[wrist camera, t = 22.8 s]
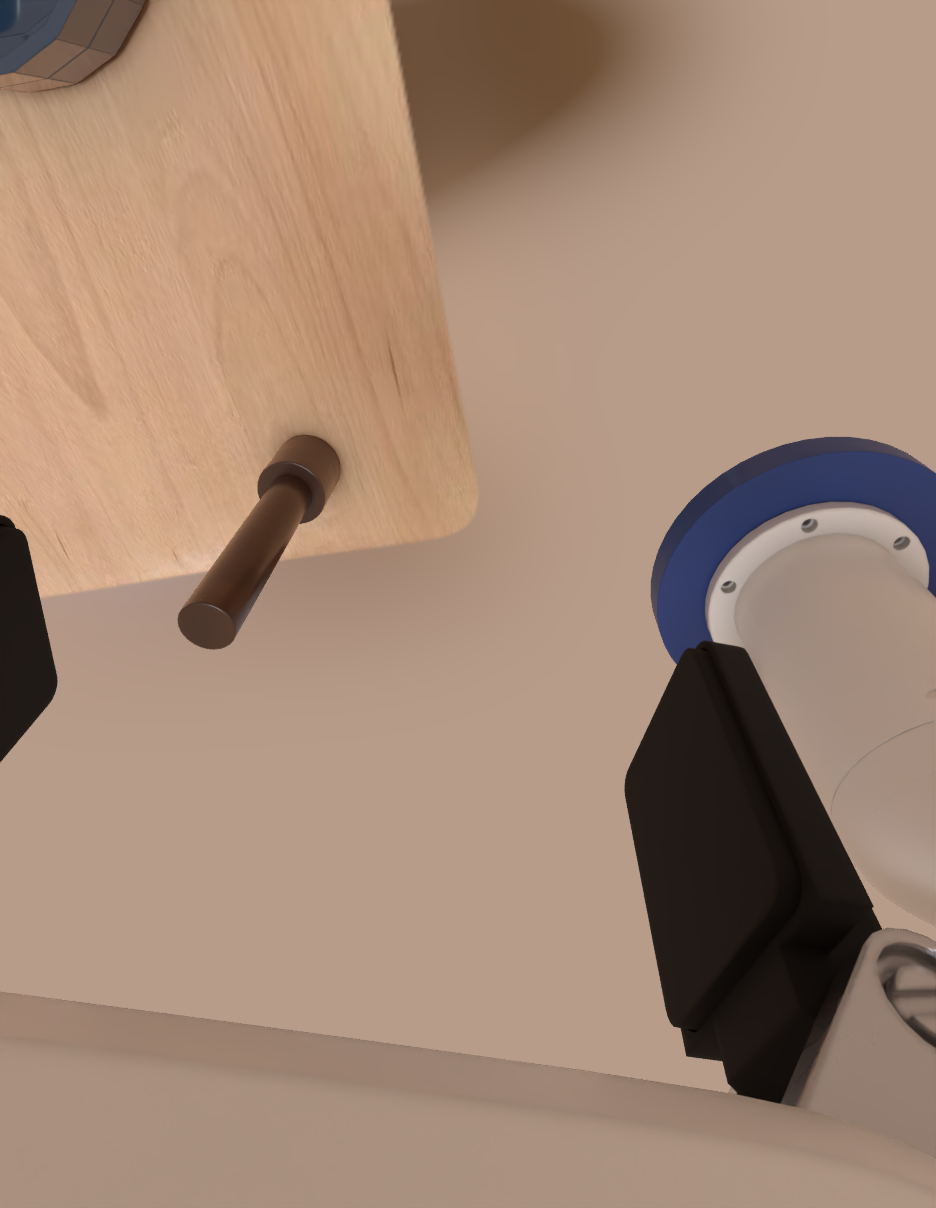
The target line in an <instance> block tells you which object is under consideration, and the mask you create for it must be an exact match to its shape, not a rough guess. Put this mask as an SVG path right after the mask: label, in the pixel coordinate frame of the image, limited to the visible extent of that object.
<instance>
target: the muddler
mask: <svg viewBox="0 0 936 1208" xmlns="http://www.w3.org/2000/svg"><path fill="white" fill-rule="evenodd" d="M339 476H340V463H339V460H338V457H337V455H336V453H335V452H334V450H333V449H332V448H331V447H330V446H329V445H328V444H327V443H326V442H324V441H323V440H321V439H319V438H316V437H313V436H307V435H302V436H296V437H293V438H291V439H289V440H288V441H287V442H286V443H285V444H284V445H283V446H282V447H281V448H280V450H279V451H278V452H277V454H276V455H275V456H274V458H273V459H272V460H271V461H270V463H269V464H268V465H267V467H266V468H265V469H264V470H263V472H262V473H261V475H260V477H259V480H258V495H259V498H260V500H259V502H258V503H257V505H256V506H255V507H254V509H253V510H252V512H251V513H250V514H249V516H248V517H247V519H246V520H245V521H244V523H243V524H242V525H241V527H240V528H239V530H238V531H237V532H236V534H235V535H234V537H233V538H232V539H231V541H230V542H229V544H228V545H227V546H226V548H225V549H224V551H223V552H222V553H221V555H220V556H219V558H218V559H217V560H216V562H215V563H214V565H213V566H212V567H211V569H210V570H209V571H208V573H207V574H206V576H205V577H204V578H203V580H202V581H201V583H200V584H199V585H198V587H197V588H196V590H195V591H194V592H193V594H192V595H191V597H190V598H189V599H188V601H187V602H186V604H185V605H184V606H183V608H182V609H181V611H180V612H179V615H178V626H179V628H180V630H181V632H182V634H183V635H184V636H185V637H186V638H187V639H188V640H189V641H191V642H192V643H193V644H195V645H197V646H199V647H203V648H206V649H221V648H224V647H226V646H228V645H230V644H231V643H232V642H233V640H234V639H235V637H236V635H237V633H238V632H239V630H240V628H241V626H242V624H243V623H244V621H245V619H246V617H247V616H248V614H249V612H250V610H251V609H252V607H253V605H254V603H255V601H256V600H257V598H258V596H259V594H260V593H261V591H262V589H263V587H264V585H265V584H266V582H267V580H268V578H269V577H270V575H271V573H272V571H273V569H274V568H275V566H276V564H277V562H278V561H279V559H280V557H281V555H282V553H283V552H284V550H285V548H286V546H287V545H288V543H289V541H290V539H291V537H292V536H293V534H294V532H295V530H296V529H297V527H298V525H299V524H302V523H307V522H310V521H312V520H313V519H315V518H316V517H317V516H318V515H319V514H320V513H321V512H322V510H323V508H324V506H325V504H326V502H327V500H328V498H329V496H330V494H331V493H332V491H333V489H334V487H335V485H336V483H337V481H338V479H339Z"/></svg>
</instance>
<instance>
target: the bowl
mask: <svg viewBox="0 0 936 1208" xmlns="http://www.w3.org/2000/svg"><path fill="white" fill-rule="evenodd" d="M143 4H144V0H0V89H7V90H14V91H21V92H36V91H41V90H46V89H52V88H57V87H62V86H68V85H73V84H75V83H78V82H80V81H81V80H82V79H84V78H85V77H86V76H88V75H89V74H90V73H92V72H93V71H94V70H96V69H97V68H98V67H100V66H101V65H102V64H104V63H105V62H106V61H108V60H109V59H110V58H112V57H113V56H114V55H115V54H116V53H117V52H118V50H119V48H120V46H121V44H122V43H123V41H124V39H125V37H126V36H127V34H128V32H129V30H130V28H131V27H132V25H133V23H134V21H135V20H136V18H137V16H138V14H139V12H140V11H141V9H142V7H143V6H142V5H143Z"/></svg>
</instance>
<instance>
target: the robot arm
mask: <svg viewBox="0 0 936 1208" xmlns="http://www.w3.org/2000/svg"><path fill="white" fill-rule="evenodd" d="M928 584H929V564H928V560H927V556H926V552H925V549H924V548H923V546H922V544H921V542H920V541H919V539H918V537H917V536H916V535H915V534H914V533H913V532H912V531H911V530H910V529H909V528H908V527H907V526H906V525H905V524H904V523H903V522H901V521H900V520H899V519H897V518H896V517H894V516H893V515H892V514H890V513H888V512H886V511H884V510H881V509H879V508H877V507H874V506H871V505H866V504H861V503H856V502H825V503H818V504H812V505H807V506H803V507H800V508H797V509H794V510H791V511H787V512H785V513H783V514H781V515H779V516H777V517H775V518H772V519H770V520H768V521H766V522H764V523H763V524H762V525H760V526H759V527H757V528H756V529H754V530H753V531H751V532H750V533H748V534H747V535H746V536H745V537H744V538H742V539H741V540H740V541H739V542H738V543H737V544H736V545H735V546H734V547H733V548H732V549H731V550H730V551H729V552H728V554H727V555H726V556H725V557H724V559H723V560H722V561H721V563H720V564H719V565H718V567H717V569H716V571H715V573H714V575H713V577H712V579H711V581H710V584H709V587H708V591H707V594H706V599H705V617H706V622H707V628H708V630H709V632H710V635H711V637H712V640H713V642H711V641H706V640H705V641H702V642H700V643H699V644H698V645H697V647H696V648H695V649H694V648H687V649H686V650H685V651H684V652H683V654H682V655H681V657H680V660H679V662H678V664H677V666H676V668H675V670H674V673H673V675H672V677H671V679H670V681H669V683H668V685H667V687H666V690H665V692H664V694H663V696H662V698H661V700H660V703H659V705H658V707H657V709H656V711H655V713H654V715H653V717H652V720H651V722H650V724H649V726H648V728H647V730H646V732H645V734H644V737H643V739H642V741H641V743H640V745H639V747H638V749H637V752H636V754H635V756H634V758H633V760H632V762H631V764H630V767H629V769H628V771H627V774H626V779H625V798H626V803H627V808H628V813H629V819H630V824H631V829H632V835H633V840H634V845H635V850H636V856H637V861H638V866H639V871H640V876H641V882H642V887H643V892H644V898H645V903H646V908H647V913H648V918H649V923H650V929H651V934H652V939H653V945H654V950H655V955H656V960H657V966H658V971H659V976H660V981H661V987H662V992H663V996H664V1002H665V1007H666V1012H667V1016H668V1018H669V1020H670V1023H671V1024H672V1025H673V1026H674V1027H678V1028H681V1032H682V1036H683V1042H684V1047H685V1052H686V1056H688V1057H695V1058H703V1059H710V1060H718V1061H723V1065H724V1069H725V1074H726V1077H727V1082H728V1084H729V1085H730V1086H731V1088H730V1090H729V1092H728V1093H724V1092H718V1091H711V1090H705V1089H699V1088H692V1087H686V1086H680V1085H674V1084H667V1083H660V1082H654V1081H647V1080H642V1079H635V1078H628V1077H622V1076H616V1075H610V1074H604V1073H597V1072H591V1071H584V1070H577V1069H570V1068H562V1067H555V1066H548V1065H541V1064H534V1063H526V1062H519V1061H511V1060H505V1059H497V1058H490V1057H483V1056H475V1055H469V1054H461V1053H454V1052H447V1051H439V1050H432V1049H425V1048H418V1047H411V1046H403V1045H396V1044H389V1043H382V1042H374V1041H367V1040H360V1039H353V1038H346V1037H338V1036H330V1035H323V1034H316V1033H308V1032H300V1031H293V1030H285V1029H278V1028H271V1027H263V1026H255V1025H248V1024H241V1023H233V1022H226V1021H218V1020H210V1019H203V1018H196V1017H188V1016H180V1015H173V1014H166V1013H158V1012H151V1011H143V1010H135V1009H128V1008H119V1007H113V1006H105V1005H97V1004H90V1003H83V1002H75V1001H67V1000H59V999H52V998H45V997H37V996H29V995H21V994H13V993H6V992H0V1208H936V942H935V941H934V940H932V939H930V938H928V937H926V936H924V935H921V934H918V933H915V932H912V931H909V930H906V929H894V928H885V929H883V930H882V928H881V926H880V924H879V922H878V920H877V918H876V916H875V914H874V912H873V910H872V907H873V904H872V902H871V900H870V898H869V896H868V894H867V892H866V890H865V888H864V886H863V884H862V882H861V880H860V878H859V876H858V874H857V872H856V870H855V868H854V866H853V864H852V862H851V860H852V861H853V863H854V865H855V866H856V867H857V868H858V870H859V871H860V872H861V873H862V875H863V876H864V877H865V879H866V880H867V881H868V882H869V883H871V885H872V886H874V887H875V888H876V889H877V890H878V891H879V892H880V893H881V894H882V895H883V896H885V897H886V898H887V899H889V900H890V901H892V902H893V903H895V904H896V905H898V906H899V907H901V908H902V909H904V910H905V911H907V912H909V913H911V914H912V915H914V916H916V917H918V918H920V919H921V920H923V921H925V922H927V923H929V924H931V925H933V926H936V598H935V597H934V596H933V594H932V593H931V592H930V591H929V590H928V589H927V588H928ZM56 688H57V674H56V669H55V665H54V660H53V656H52V651H51V647H50V642H49V637H48V633H47V628H46V624H45V619H44V615H43V611H42V606H41V601H40V596H39V592H38V587H37V583H36V578H35V574H34V569H33V565H32V560H31V556H30V551H29V546H28V542H27V539H26V536H25V534H24V533H23V532H22V531H21V530H19V529H16V528H15V525H14V523H13V522H12V521H11V520H10V519H9V518H7V517H5V516H2V515H0V762H1V761H2V760H3V758H4V757H5V756H6V755H7V754H8V752H9V751H10V750H11V749H12V748H13V746H14V745H15V744H16V743H17V742H18V740H19V739H20V738H21V737H22V736H23V735H24V733H25V732H26V731H27V730H28V729H29V727H30V726H31V725H32V724H33V722H34V721H35V720H36V719H37V718H38V717H39V715H40V714H41V713H42V712H43V711H44V709H45V708H46V707H47V706H48V704H49V703H50V702H51V700H52V699H53V697H54V694H55V692H56ZM834 827H835V828H834ZM835 829H836V830H835ZM836 831H837V832H836ZM837 833H838V834H837ZM838 835H839V836H838ZM839 837H840V838H839ZM840 839H841V840H840ZM841 841H842V842H841ZM842 843H843V844H842ZM843 845H844V846H843ZM844 847H845V848H844ZM845 849H846V850H845ZM846 851H847V852H846ZM847 853H848V854H847ZM848 855H849V856H850V858H851V860H850V858H849V856H848Z"/></svg>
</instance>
